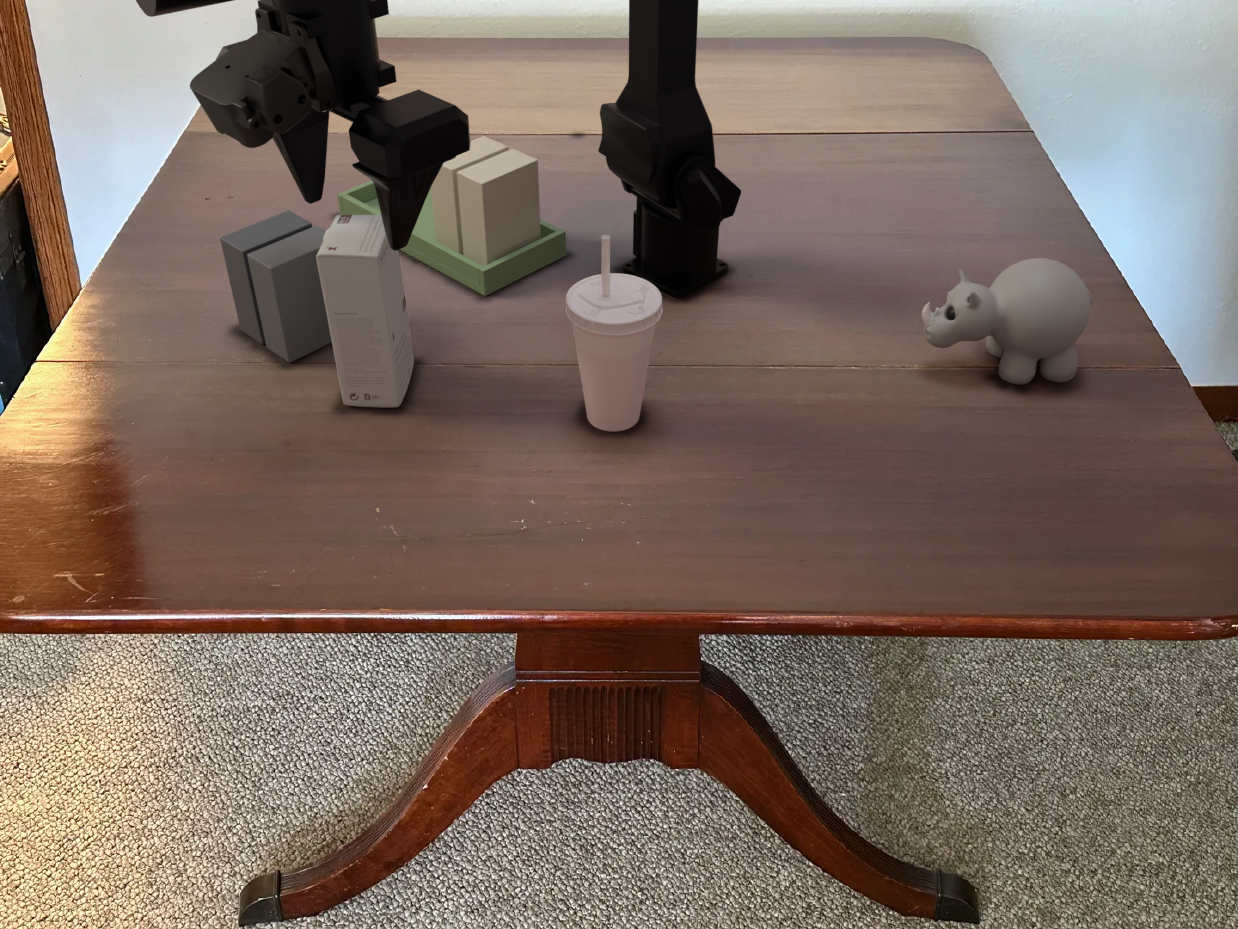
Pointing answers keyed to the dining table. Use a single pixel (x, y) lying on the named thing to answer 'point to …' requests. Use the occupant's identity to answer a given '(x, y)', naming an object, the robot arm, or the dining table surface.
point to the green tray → (452, 262)
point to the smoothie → (613, 341)
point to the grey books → (279, 284)
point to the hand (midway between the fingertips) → (355, 223)
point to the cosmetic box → (366, 311)
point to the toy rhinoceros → (1018, 319)
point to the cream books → (487, 202)
